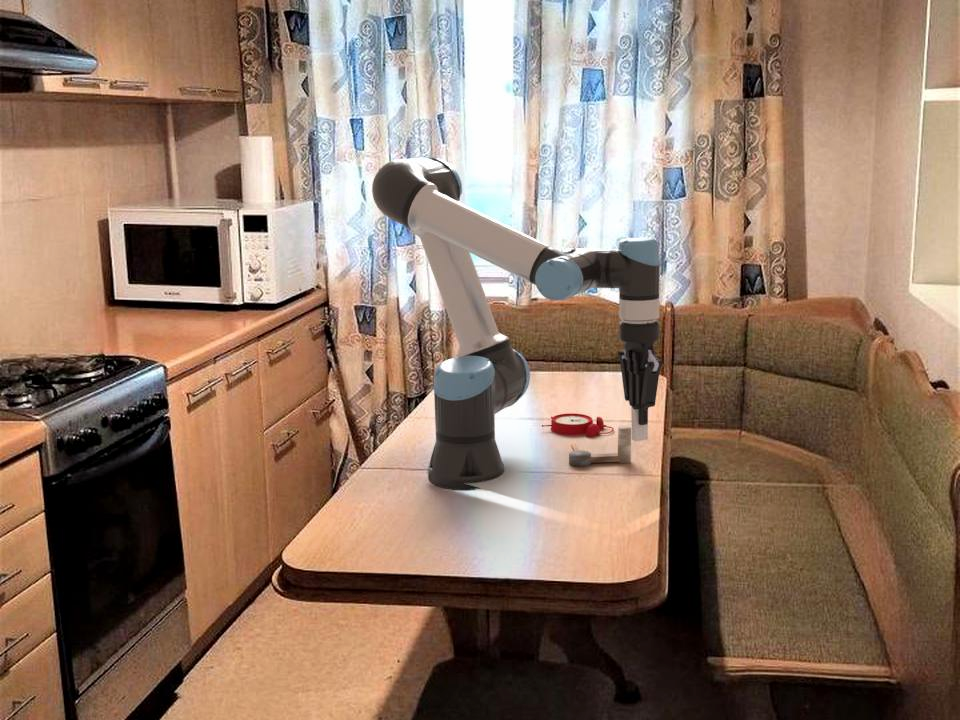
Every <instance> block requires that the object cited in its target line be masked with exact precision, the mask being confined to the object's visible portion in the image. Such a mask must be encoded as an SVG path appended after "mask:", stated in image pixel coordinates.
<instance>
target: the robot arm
mask: <svg viewBox="0 0 960 720" xmlns="http://www.w3.org/2000/svg"><path fill="white" fill-rule="evenodd" d="M462 186H463V185H462V180H461V177H460V174H459V173H458V171H457V170H456V169H455V168H454V166H453V165H452V164H450V163H449V162H448V161H445V160H443V159H442V158H437V157H432V156H431V157H430V156H422V157H417V158H400V159H394V160H391V161H389V162H387V163H386V164H384V165H383V166H381V167H380V168H379V169H378V171H377V173H376V174H375V175H374V178H373V181H372V187H371V191H372V198H373V201H374V203H375V205H376V207H377V208H378V210H379V211H380V212H381V213H382V214H383V215H385V217H387V218H389V219H391V220H393V221H394V222H396V223H398V224H400V225H402V226H405V227H406V228H408V230H409V233H410V234H413V235H416V236H417V237H418V238H419V239H420V242H421V244H422V247H423V248H422V249H423V250H424V253H425V256H426V258H427V261H428V263H429V267H430V269H431V272H432V274H433V277H434V279H435V280H434V281H435V282H436V286H437V288H438V291H439V293H440V296H441V299H442V302H443V304H444V307H445V310H446V313H447V316H448V318H449V321H450V323H451V326H452V329H453V332H454V334H455V337H456V341H457V342H458V346H459V347H458V351H457V353H456V355H455V358H454V357H452V358H449V359H446V360H444V361H442V362H441V363H439V364H438V365H437V366H436V368H435V370H434V372H433V375H434V376H433V377H434V378H433V379H434V380H433V383H432V385H433V387H432V388H433V395H434V397H433V399H434V417H435V418H434V423H435V424H434V425H435V443H434V446H433V449H432V452H431V456H430V461H429V464H428V466H427V478H428V481H429V482H430V483H431V484H433V485H435V486H437V487H440V488H444V489H450V490H459V491H460V490H476V489H480V487H478V486H475V485H471V484H477V483H484V482H488V481H491V480H494V479H497V478H499V477H500V476H502V475H503V474H504V473H505V464H504V462H503V460H502V457H501V453H500V449H499V447H498V444H497V441H496V432H495V431H496V430H495V428H496V426H495V425H496V424H495V422H496V421H495V419H496V418H495V417H496V414H498V413H499V412H501V411H502V410H504V409H506V408H509V407H511V406H514V405H515V404H516V403H517V402H518V401H519V400H520V399H521V398H522V397H523V396H524V395H525V393H526V392H527V390H528V389H529V385H530V381H531V372H530V366H529V364H528V362H527V360H526V358H525V356H523V355H522V354H521V353H520V352H518V351H517V350H515V349H513V346H512V343H511V341H510V338H509V336H507V335H504V334H503V333H501V332H499V328H498V327H497V324H496V321H495V318H494V315H493V313H492V312H493V311H491V307H490V304H489V302H488V298H487V296H486V293H485V290H484V289H483V285H482V283H481V280H480V278H479V275H478V272H477V269H476V267H475V263H474V261H473V258H472V256H471V254H473V255H474V256H476V257H478V258H480V259H482V260H484V261H486V262H488V263H489V264H492V265H494V266H496V267H499V268H500V269H502V270H504V271H506V272H508V273H511V274H513V275H514V276H516V277H518V278H520V279H522V280H524V281H526V282H528V283H531V284H533V285H534V286H536V288H537V290H538V292H539V293H540V295H541V296H542V297H544V298H545V299H548V300H550V301H565V300H568V299H571V298H573V297H574V296H577V295H579V294H580V293H583V292H586V291H589V290H591V289H618V291H619V293H618V299H619V301H618V306H619V307H618V310H619V314H618V315H619V317H618V318H619V319H620V320H621V321H620V322H619V340H620V341H621V342H622V343H623V342H624V349H623V350H619V351H618V352H617V356H618V359H619V362H620V369H621V379H622V386H623V396H624V400H625V402H627V401H628V403H629V405H630V408H631V411H630V412H631V441H634V442H640V441H646V440H647V441H648V436H649V434H648V433H649V432H648V431H649V428H648V427H649V426H648V425H649V418H648V417H649V408H652V407H655V406H656V401H657V392H658V385H659V378H660V373H661V370H662V367H663V361H662V360H658V359H656V357H655V353H656V352H655V348H654V345H655V342H657V341H659V339H660V322H659V320H658V319H659V318H660V304H661V302H660V266H661V260H660V248H659V247H660V245H659V243H658V241H657V240H656V239H654V238H651V237H628V238H622V239H621V240H619V242H618V247H617V248H585V247H584V248H582V247H573V248H564V249H562V250H558V249H556V248H554V247H551V246H549V245H548V244H546V243H544V242H541V241H540V240H538V239H536V238H533V237H531V236H529V235H527V234H525V233H524V232H522V231H519V230H517V229H515V228H513V227H511V226H508V225H507V224H505V223H502V222H500V221H499V220H498V219H497V220H496V219H494V218H493V217H490V216H489V215H487V214H484V213H482V212H480V211H478V210H476V209H474V208H472V207H470V206H468V205H466V204H464V203H461V202H460V200H461V195H462V194H463V187H462Z"/></svg>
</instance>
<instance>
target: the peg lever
mask: <svg viewBox="0 0 960 720" xmlns="http://www.w3.org/2000/svg"><path fill="white" fill-rule="evenodd" d="M570 448H571V449H572V451H570V452H568V464H569V465H570V466H572V467H577V468H582V467H583V468H584V467H588V466H591V465H592V464H594V463H615V462H617V463H619V464H630V463H631V462H632V426H628V425H622V426H618V427H617V452H616V453H615V452H614V453H612V452H608V453H591V452H590V451H587V450H583V449H582V450H580V449H579V447H578V445H577V444H576V443H571V445H570Z"/></svg>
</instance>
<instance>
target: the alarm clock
mask: <svg viewBox="0 0 960 720" xmlns="http://www.w3.org/2000/svg"><path fill="white" fill-rule="evenodd" d="M550 419H551V420H550V422H551V423H550V424H546V425H545V424H541V427H542V428H544V427H550V431H551V432H552V433H554V434H557V435H561V436H562V435H564V436H582V435H583V436H584V435H585V437H586V438H594V437H596V436H598V435H600V434H601V435H603V434H605V435H606V434H608V435H609V434H611V433H612V432H613V431H614V427H612V426H607V424H605V423H604V420H603V418H602V417H601V416H596V422H595V423H594V420H593V417H591V416H590V415H587V414H582V413H574V412H572V413H561V414H556V415H554V416H551V417H550ZM605 428H607V429H611V430H609V431H607V432H601V431H604V429H605Z"/></svg>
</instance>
